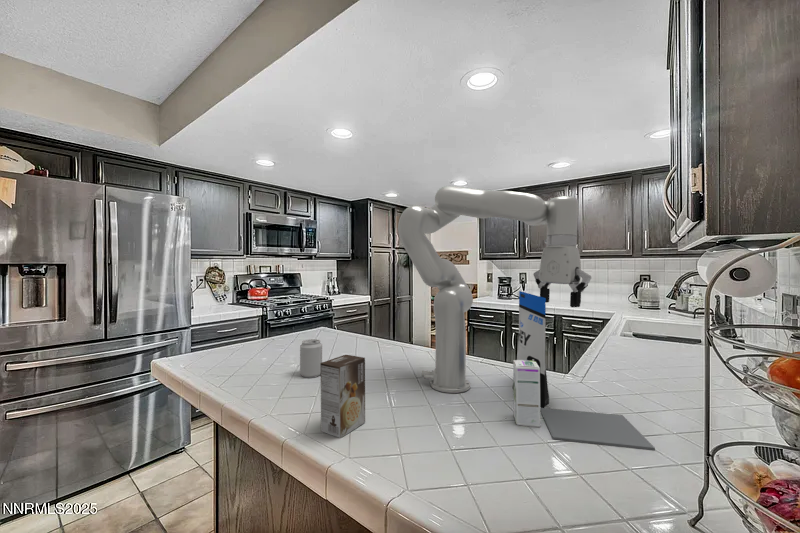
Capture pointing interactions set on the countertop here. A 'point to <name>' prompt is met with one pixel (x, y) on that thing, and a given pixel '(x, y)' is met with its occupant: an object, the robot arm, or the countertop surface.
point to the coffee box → (342, 394)
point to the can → (310, 358)
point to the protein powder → (533, 337)
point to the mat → (593, 428)
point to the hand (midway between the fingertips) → (559, 304)
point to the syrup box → (526, 393)
